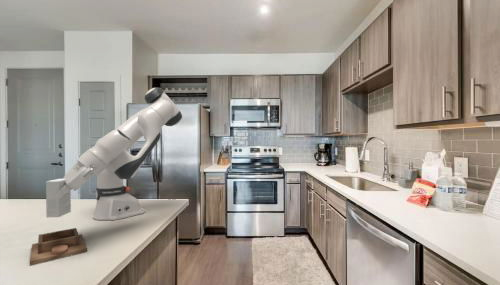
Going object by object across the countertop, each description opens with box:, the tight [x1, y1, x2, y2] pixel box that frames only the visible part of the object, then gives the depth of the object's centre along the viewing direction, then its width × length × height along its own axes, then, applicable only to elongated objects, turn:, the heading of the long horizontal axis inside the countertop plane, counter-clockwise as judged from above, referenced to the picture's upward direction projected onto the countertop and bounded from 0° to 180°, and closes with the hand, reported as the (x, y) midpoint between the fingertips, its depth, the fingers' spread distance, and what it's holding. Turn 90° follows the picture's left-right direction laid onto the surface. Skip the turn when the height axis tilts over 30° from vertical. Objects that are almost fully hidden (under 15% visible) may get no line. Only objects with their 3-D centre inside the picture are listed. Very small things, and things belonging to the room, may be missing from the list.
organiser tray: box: [29, 227, 88, 266], centre depth 81 cm, size 14×16×4 cm
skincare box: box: [45, 178, 72, 218], centre depth 83 cm, size 6×4×12 cm
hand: (56, 194), depth 83 cm, fingers closed on skincare box, 7 cm apart
